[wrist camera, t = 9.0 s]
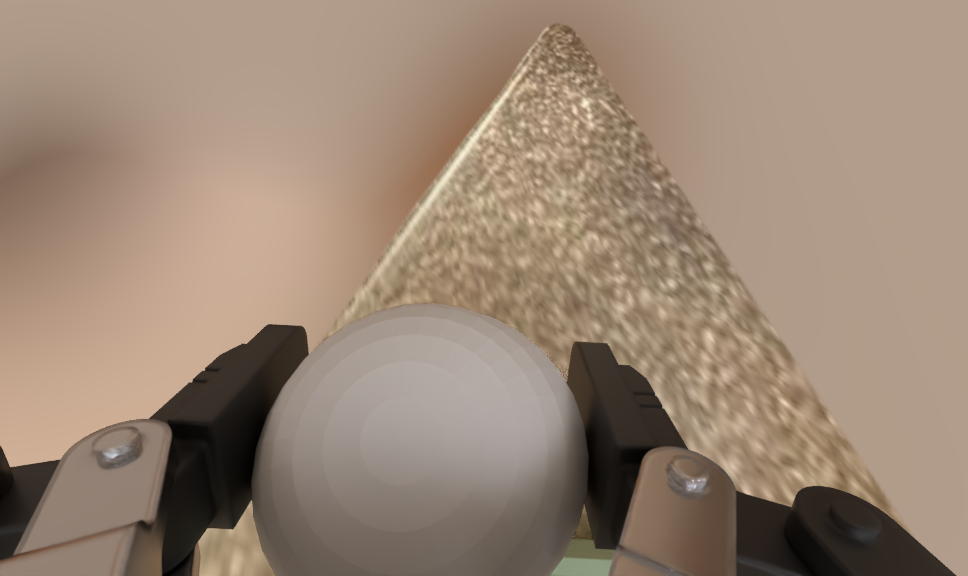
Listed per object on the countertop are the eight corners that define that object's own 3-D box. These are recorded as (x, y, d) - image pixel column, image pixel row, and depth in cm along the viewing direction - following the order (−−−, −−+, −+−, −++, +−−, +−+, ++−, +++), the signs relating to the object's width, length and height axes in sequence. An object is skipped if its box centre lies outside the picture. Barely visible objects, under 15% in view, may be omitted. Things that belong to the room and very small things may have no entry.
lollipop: (389, 565, 18) (125, 786, 5) (379, 418, 21) (185, 276, 7) (538, 537, 19) (699, 662, 5) (511, 396, 21) (573, 223, 7)
